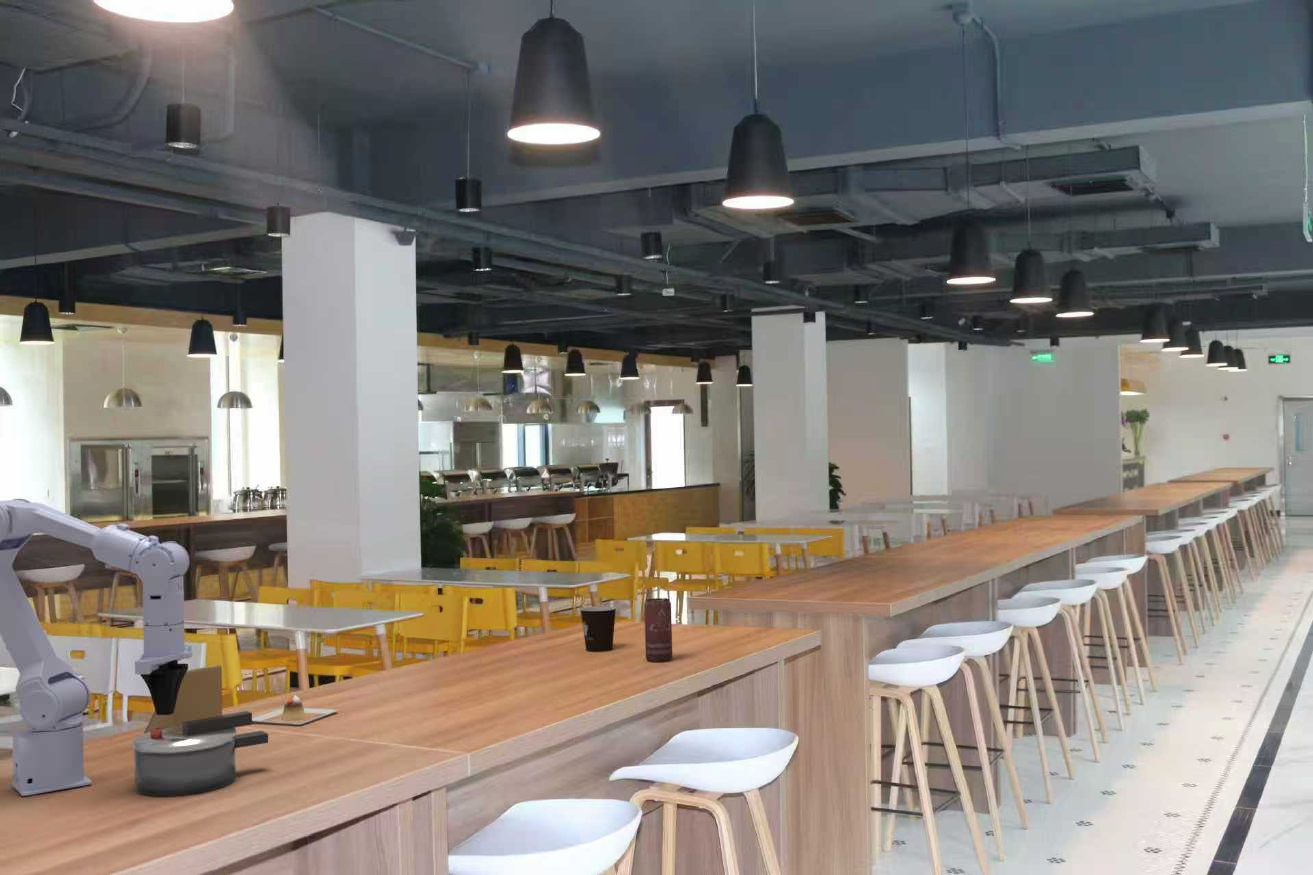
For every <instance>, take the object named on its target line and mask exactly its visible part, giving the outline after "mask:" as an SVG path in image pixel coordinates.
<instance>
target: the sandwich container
mask: <svg viewBox="0 0 1313 875" xmlns="http://www.w3.org/2000/svg"><path fill="white" fill-rule="evenodd" d="M222 668H223V667H222V666H221V665H218V664H217V665H212V666H203V667H197V668H192V669H188V670H187V672H186V674H185V676H184V678H183V680H182V683H181V685H180V688H179V692H178V696H177V701H176V705H175V709H174V713H173V714H171V715H157V714H156V711H155V710H154V712H153V714H152V716H151V718H150V721H149V722H148V723H147V726H146V728H145V730H144V732H143V734H144V733H148V732H150V728H153V727H162V729H165V728H171V727H178V726H182V722H186V721H192V720H198V719H204V718H209V717H215V716H221V715H223V669H222ZM133 753H134V754H135V750H133Z"/></svg>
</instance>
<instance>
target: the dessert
mask: <svg viewBox="0 0 1313 875" xmlns="http://www.w3.org/2000/svg"><path fill="white" fill-rule="evenodd" d="M292 697H293V699H292ZM339 711H340V709H331V708H330V709H329V708H313V707H312V708H310V707H304V706H303V702H302V701H301V699H300V697H299V696H297V695H294V696H293V695H291V697H290V698H289V699H288V700H287V702H286V703H285V704H284V706H283V707H282V708H280V709H276V710H272V711H270V712H267V713H264V714H260V715H258V716H255V717H252V724H265V725H267V724H268V725H280V726H281V725H283V726H298V727H300V726H303V725H306V724H308V723H311V722H313V721H317V720H320V719H322V718H326V717H328V716H331V715H333V714H336V713H337V712H339ZM306 713H307V714H310V713H311V714H321V715H319V716H316V717H313V718H310V719H308V720H305V721H302V722H293V721H300V720H303V719H306V718H307V715H306ZM280 715H281V717H280V719H281V720H280V721H272V720H268V719H271V718H274V717H277V716H280ZM289 721H290V722H289ZM291 721H292V722H291Z"/></svg>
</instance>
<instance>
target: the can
mask: <svg viewBox="0 0 1313 875" xmlns="http://www.w3.org/2000/svg"><path fill="white" fill-rule="evenodd" d="M643 604H644V605H643V606H644V607H643V608H644V610H643V612H644V639H645V642H644V644H645V659H646V661H647V662H649V663H666V662H667V663H669V662H670V661H672V659H673V637H672V636H673V632H672V631H673V629H672V628H673V627H672V603H671V601H670V599H669V598H666V597H663V598H662V597H661V598H648V599H645V601H644V603H643Z"/></svg>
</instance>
